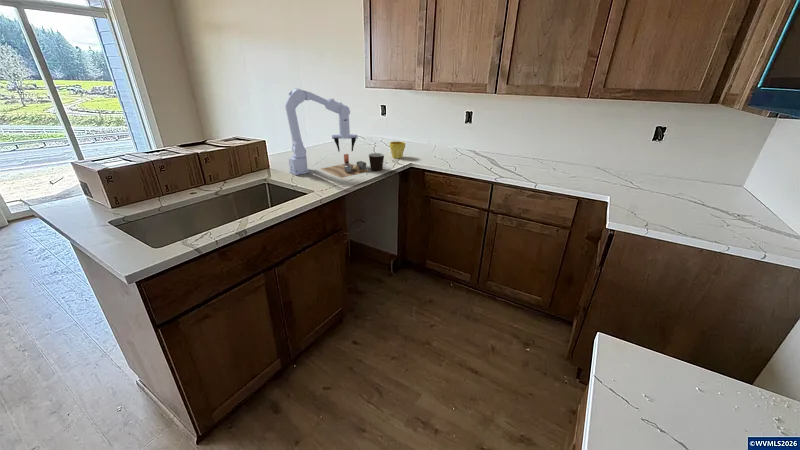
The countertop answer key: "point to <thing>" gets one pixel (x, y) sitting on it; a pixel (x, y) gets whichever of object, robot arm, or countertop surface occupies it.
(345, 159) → the lever
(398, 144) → the plant pot
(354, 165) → the walnut
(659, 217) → the countertop surface
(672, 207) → the countertop surface
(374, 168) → the coffee mug
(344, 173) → the nutcracker base
